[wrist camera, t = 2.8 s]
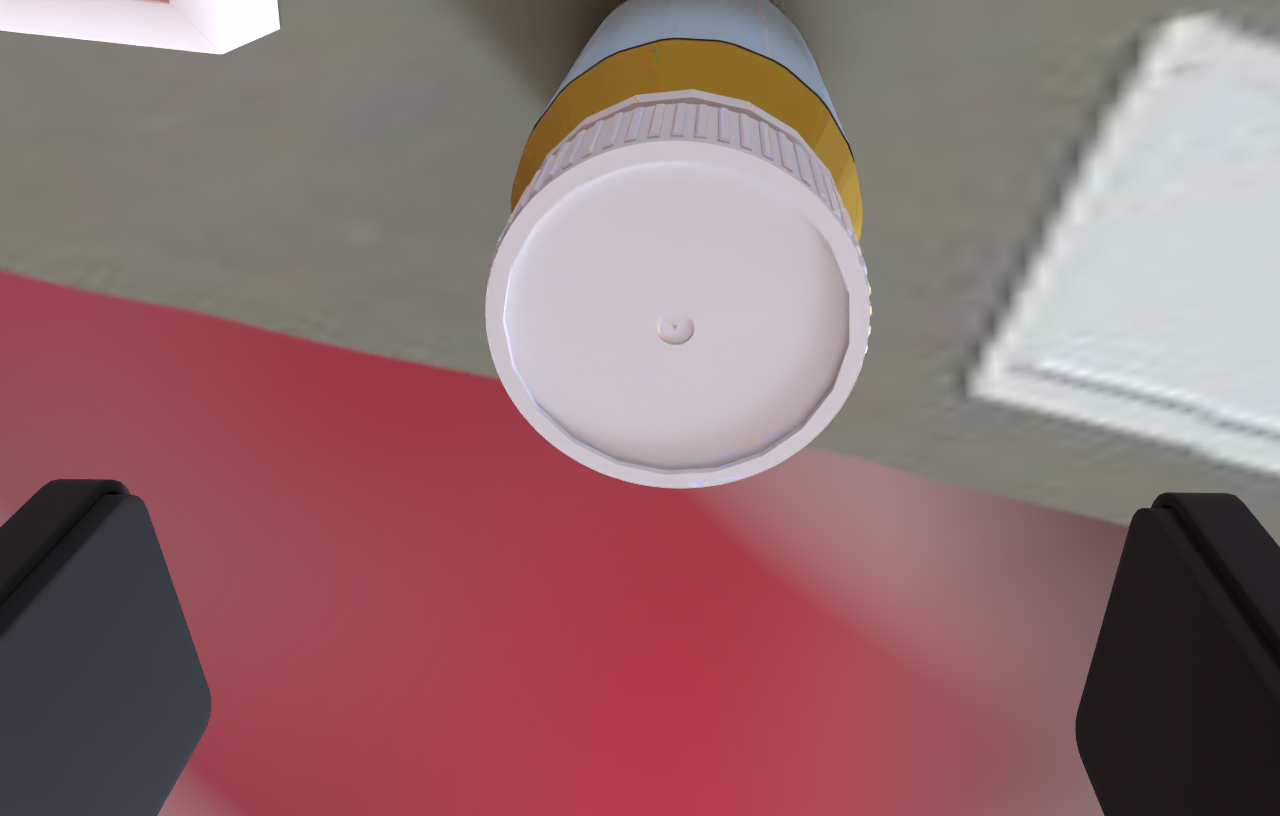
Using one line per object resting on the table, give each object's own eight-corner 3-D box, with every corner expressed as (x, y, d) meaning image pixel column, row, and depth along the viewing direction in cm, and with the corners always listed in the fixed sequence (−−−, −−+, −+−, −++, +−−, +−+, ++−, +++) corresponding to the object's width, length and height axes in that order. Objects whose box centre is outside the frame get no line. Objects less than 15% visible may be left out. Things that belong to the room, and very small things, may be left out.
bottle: (546, 171, 30) (411, 431, 17) (623, -69, 26) (529, 29, 13) (757, 251, 30) (784, 559, 18) (859, 30, 27) (987, 212, 14)
